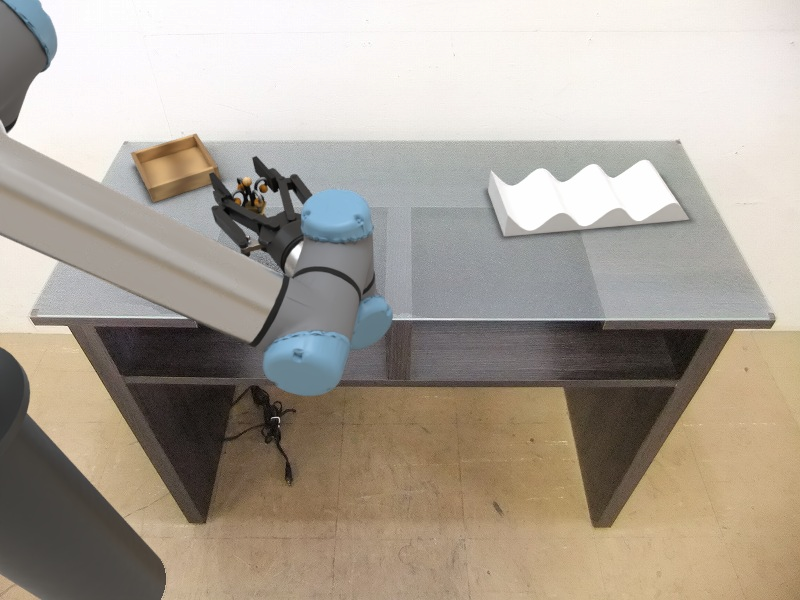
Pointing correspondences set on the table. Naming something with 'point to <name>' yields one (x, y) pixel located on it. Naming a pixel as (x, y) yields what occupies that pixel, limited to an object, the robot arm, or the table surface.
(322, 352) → the robot arm
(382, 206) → the table surface
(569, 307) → the table surface
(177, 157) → the tray
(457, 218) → the table surface
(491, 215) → the table surface
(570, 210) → the white wavy block
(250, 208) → the gold potted plant ornament
